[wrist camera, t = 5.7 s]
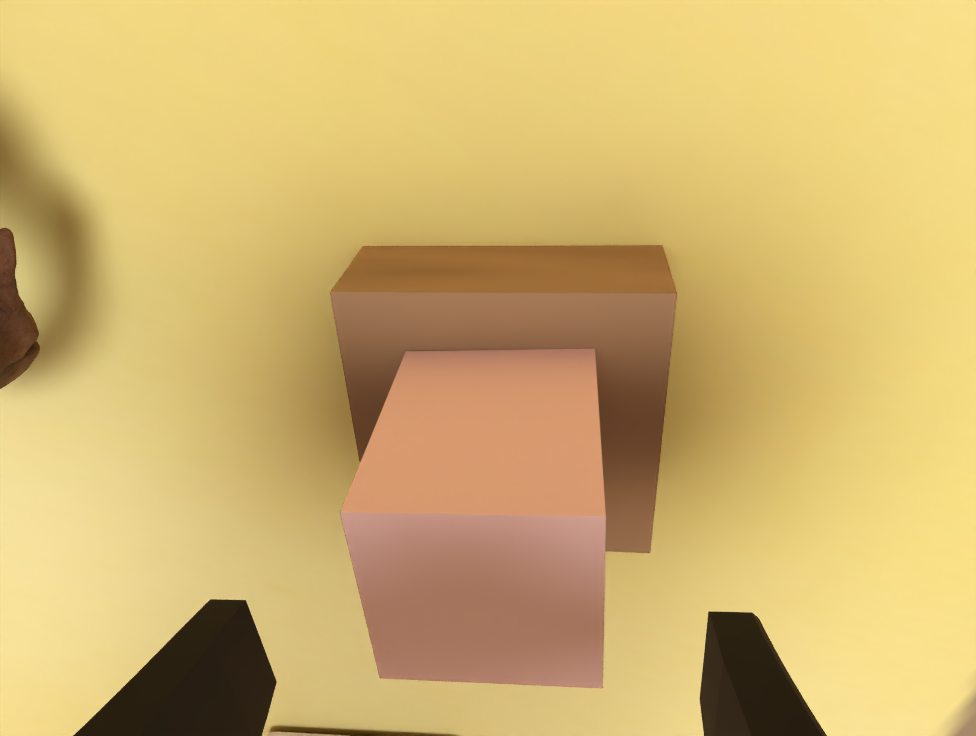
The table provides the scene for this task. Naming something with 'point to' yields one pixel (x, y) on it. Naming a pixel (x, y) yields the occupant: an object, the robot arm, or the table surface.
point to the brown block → (525, 339)
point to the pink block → (484, 520)
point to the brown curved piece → (13, 318)
